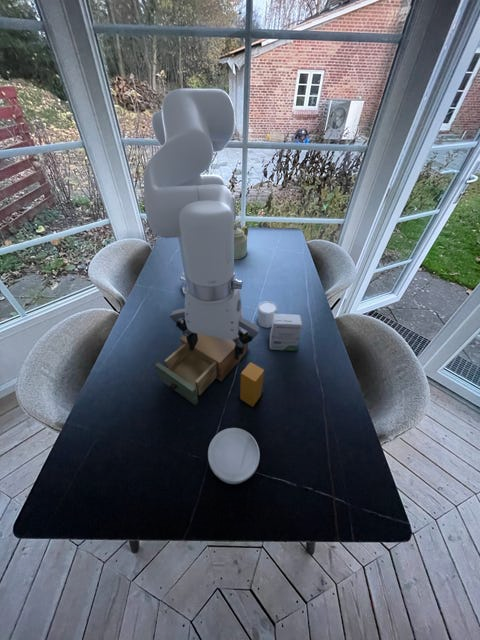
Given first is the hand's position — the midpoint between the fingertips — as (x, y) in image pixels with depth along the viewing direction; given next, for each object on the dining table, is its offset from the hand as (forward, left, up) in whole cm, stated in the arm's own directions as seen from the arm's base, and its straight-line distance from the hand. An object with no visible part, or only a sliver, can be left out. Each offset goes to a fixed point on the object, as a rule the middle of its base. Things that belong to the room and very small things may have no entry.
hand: (215, 349), depth 55 cm
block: (+6, +7, -23) cm, 24 cm away
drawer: (-12, +1, -22) cm, 25 cm away
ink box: (+3, +29, -23) cm, 37 cm away
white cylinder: (-7, +35, -23) cm, 42 cm away
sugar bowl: (-45, +69, -23) cm, 85 cm away
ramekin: (+11, -9, -23) cm, 27 cm away
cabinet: (-12, +13, -23) cm, 28 cm away
